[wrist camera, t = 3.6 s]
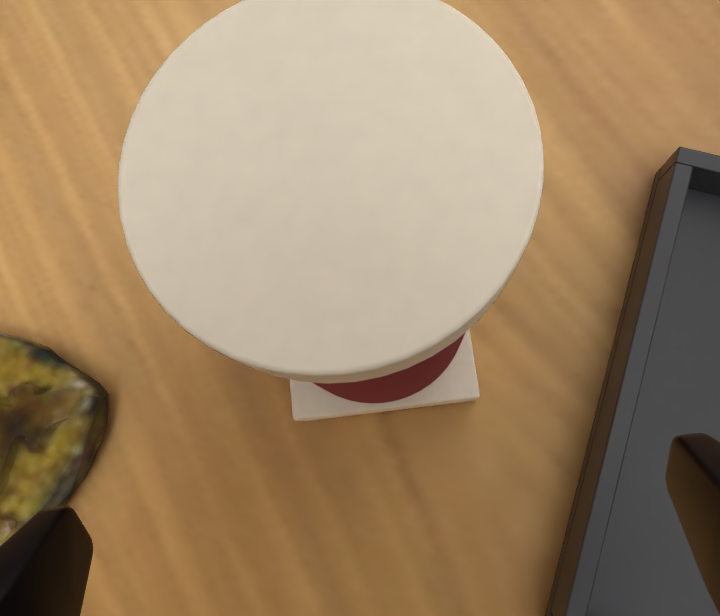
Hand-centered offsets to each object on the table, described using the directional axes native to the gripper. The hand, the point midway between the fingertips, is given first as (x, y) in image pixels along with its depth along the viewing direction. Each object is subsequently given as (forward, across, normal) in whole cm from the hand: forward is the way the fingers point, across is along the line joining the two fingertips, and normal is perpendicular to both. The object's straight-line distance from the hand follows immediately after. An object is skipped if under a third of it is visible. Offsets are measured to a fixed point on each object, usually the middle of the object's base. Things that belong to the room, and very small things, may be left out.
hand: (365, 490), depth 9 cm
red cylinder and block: (+13, 0, +4) cm, 13 cm away
